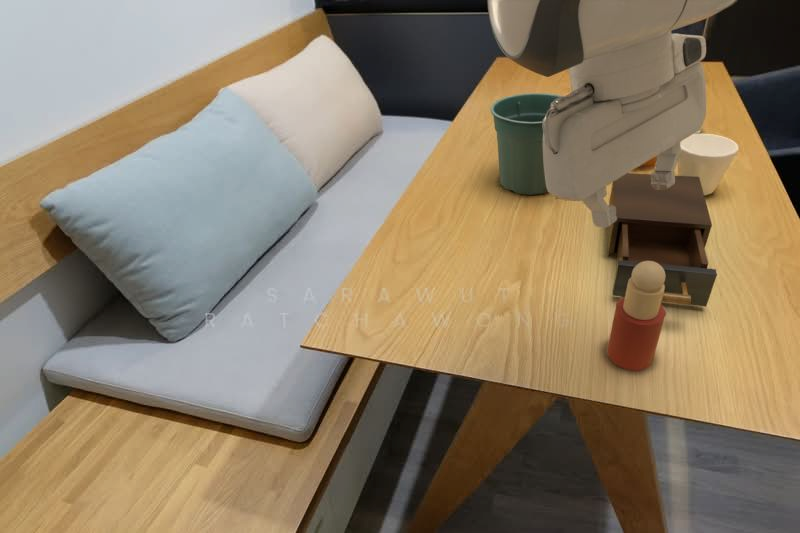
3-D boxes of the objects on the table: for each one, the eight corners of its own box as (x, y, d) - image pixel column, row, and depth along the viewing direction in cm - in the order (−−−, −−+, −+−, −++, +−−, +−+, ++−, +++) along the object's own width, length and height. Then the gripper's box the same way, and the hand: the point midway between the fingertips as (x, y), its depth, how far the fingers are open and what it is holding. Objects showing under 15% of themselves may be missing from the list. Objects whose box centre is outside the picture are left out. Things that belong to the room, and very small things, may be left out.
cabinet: (699, 265, 82) (712, 224, 78) (607, 256, 86) (614, 217, 82) (688, 214, 94) (699, 176, 89) (608, 208, 98) (614, 172, 93)
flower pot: (511, 158, 118) (513, 88, 109) (582, 172, 110) (591, 97, 100) (475, 190, 108) (475, 115, 99) (551, 208, 100) (558, 128, 90)
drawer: (710, 327, 70) (722, 294, 67) (612, 314, 74) (618, 282, 71) (694, 248, 84) (703, 218, 81) (612, 241, 88) (617, 211, 85)
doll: (662, 360, 68) (689, 268, 59) (628, 376, 66) (650, 284, 57) (630, 334, 72) (651, 244, 63) (598, 348, 70) (614, 259, 61)
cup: (686, 205, 96) (698, 159, 91) (656, 181, 104) (666, 137, 99) (737, 197, 97) (752, 150, 91) (704, 173, 105) (716, 130, 99)
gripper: (569, 105, 42) (593, 255, 47) (716, 33, 49) (722, 170, 55) (514, 107, 47) (542, 243, 53) (655, 42, 55) (666, 166, 60)
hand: (635, 205), depth 54 cm, fingers open, 8 cm apart
